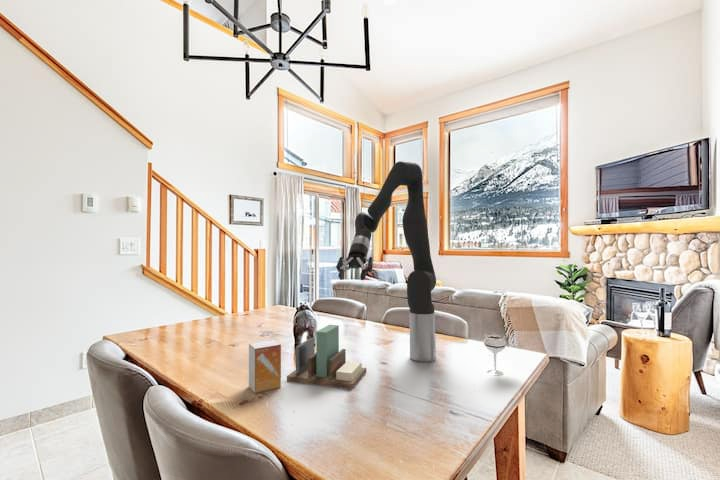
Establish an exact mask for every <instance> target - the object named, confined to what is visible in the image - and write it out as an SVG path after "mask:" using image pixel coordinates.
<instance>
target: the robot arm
mask: <svg viewBox="0 0 720 480" xmlns="http://www.w3.org/2000/svg"><path fill="white" fill-rule="evenodd" d="M423 181H424V179H423V171H422V168H421V166H420V164H419V163H417V162H414V161H405V160H400V161H397V162H395V163H394V164H393V165H392V166H391V169H390V171H389V173H388V175H387V177H386V179H385V180H384V182H383V185H382V187H381V189H380V190H379V192H378V194H377V195H376V197H375V199H374V200H372V202H371V203H370V205H369V206H368V208H367V213H366V212H364V211H363V212H359V213H357V215H356V217H355V220H354V226H355V227H354V228H355V230H354V231H355V233H354V236H353V240H352V242H351V245H350V248H349V251H348V255H347V257H346V258H343V256H339V259H338V262H337V264H336V270H337V272H338V278H339V279H340V280H341V281H342V280H343V279H344V276H345V272H346V271H349V270H351V269H357V270H358V269H361V274H360V277H359V278H360V281H364V280H365V279H366V277H367V276H366V275H367V273H372V272H373V266H374V259H373V257H372V256H369V258H367V257H368V253H369V250H370V243H371V239H372V234H373V233H374V232H376V231H377V229H378V227H379V224H380V221H381V219H382V217H383V216H384V215H385V213H386V212H387V211H388V210H389V209H390V207H391V205H392V199H393V194H394V192H395V191H396V190H397V188H399V187H400V186H406V189H407V198H408V199H407V202H406V203H407V204H406V206H405V210H404V212H403V215H402V220H401V221H402V230H403V235H404V239H405V243H406V244H407V247H408V250H409V251H410V254H411V258H412V263H413V271H412V272H411V273H409V274H408V276H407V278H406V279H407V280H406V294H407V295H406V298H407V305H408V309H409V358H410V359H411V360H413V361H416V362H421V363H422V362H423V363H426V362H435V360H436V354H437V353H436V352H437V349H436V330H435V329H436V328H435V305H434V304H433V302H432V291H433V290H434V289H435V287H436V284H437V278H436V276H437V275H436V272H435V269H434V265H433V261H432V257H431V247H430V238H429V237H430V236H429V230H428V222H427V217H426V209H425V200H424V199H425V198H424V183H423ZM366 263H367V266H366V265H365V264H366ZM340 280H339V281H340Z"/></svg>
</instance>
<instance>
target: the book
mask: <svg viewBox="0 0 720 480" xmlns="http://www.w3.org/2000/svg"><path fill="white" fill-rule="evenodd" d="M339 327H340V326H339V324H328V325H326V326H324V327H322V328H320V329H319V330H317V331H316V332H315V336H316V337H315V339H316V344H315V345H316V346H315V348H316V349H315V350H316V352H315V353H316V370H317V377H325V378H327V377H328V376H329V360H330V359H331V358H332V357H333V356H335V355H336V354H337V353H338V352H340V345H339V344H340V343H339V340H340V339H339V338H340V337H339V336H340V333H339V330H340V329H339Z"/></svg>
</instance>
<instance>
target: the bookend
mask: <svg viewBox="0 0 720 480" xmlns="http://www.w3.org/2000/svg"><path fill="white" fill-rule="evenodd" d="M313 354H315V338H314V337H310V338H309V339H307V340H305V341H303V342H301V343H300V344H298V345H297V346H295V370H296V375H298V376H299V375H301V374H302V373H303V372H305V371H306V370H307V369H308V358H309V357H310V356H312V355H313Z"/></svg>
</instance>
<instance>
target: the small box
mask: <svg viewBox="0 0 720 480" xmlns="http://www.w3.org/2000/svg"><path fill="white" fill-rule="evenodd" d="M281 351H282V344H281V343H280V342H278V341H277V340H275V339H272V340H265V341H258V342H253V343H248V387H249V389H250V390H251V392H253V393H254V394H257V393H261V392H264V391H269V390H270V391H271V390H274V389H278V388H279V389H280V388H281V386H282V385H281V384H282V352H281Z"/></svg>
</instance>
